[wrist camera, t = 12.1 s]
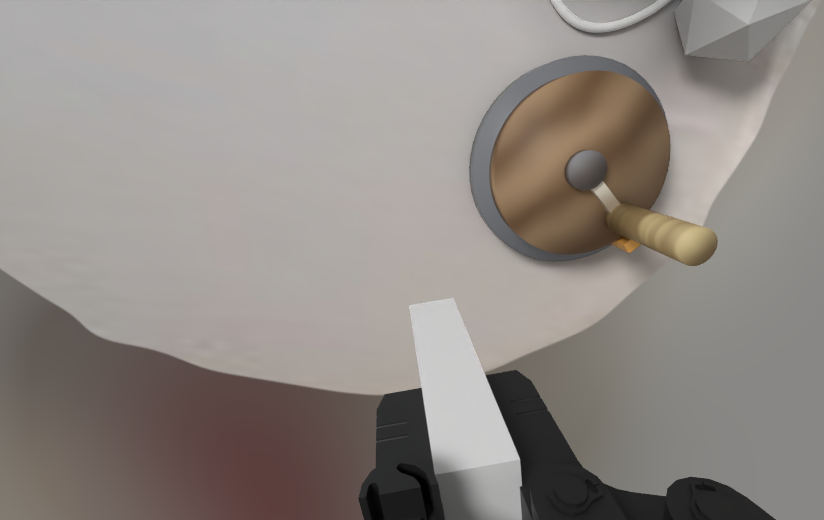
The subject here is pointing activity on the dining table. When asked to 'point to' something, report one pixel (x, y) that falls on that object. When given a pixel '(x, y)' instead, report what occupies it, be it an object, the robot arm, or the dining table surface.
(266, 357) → the dining table surface
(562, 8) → the earphone
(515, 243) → the dial base
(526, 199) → the dial
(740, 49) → the die
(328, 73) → the dining table surface
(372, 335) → the dining table surface
